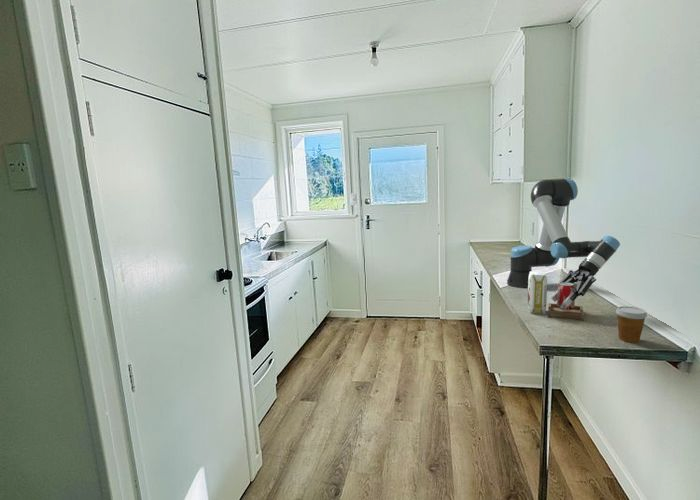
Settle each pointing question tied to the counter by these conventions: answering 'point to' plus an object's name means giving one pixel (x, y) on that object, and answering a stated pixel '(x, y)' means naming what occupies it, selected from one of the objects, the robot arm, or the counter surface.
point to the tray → (566, 313)
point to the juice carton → (537, 292)
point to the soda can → (565, 295)
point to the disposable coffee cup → (630, 323)
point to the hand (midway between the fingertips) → (559, 302)
